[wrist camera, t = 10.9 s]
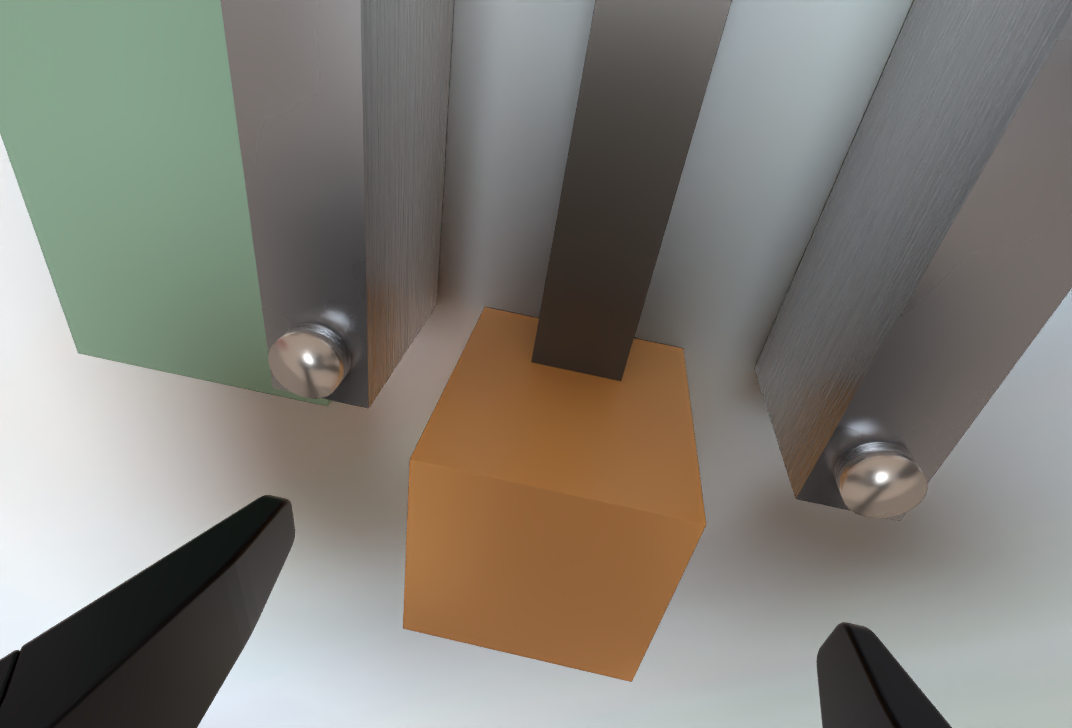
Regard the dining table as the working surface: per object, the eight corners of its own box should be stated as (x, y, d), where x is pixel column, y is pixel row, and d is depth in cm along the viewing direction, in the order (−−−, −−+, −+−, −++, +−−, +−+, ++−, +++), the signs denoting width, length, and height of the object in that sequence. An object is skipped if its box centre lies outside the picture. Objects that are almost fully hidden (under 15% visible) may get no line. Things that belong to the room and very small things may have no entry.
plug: (554, -292, 7) (453, -641, 3) (888, -236, 7) (1207, -531, 3) (467, 454, 14) (402, 628, 10) (633, 490, 13) (631, 682, 10)
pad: (278, -475, 6) (264, -494, 6) (333, 398, 13) (327, 406, 13) (-213, -545, 7) (-249, -567, 6) (88, 346, 14) (78, 353, 13)
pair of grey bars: (1121, -161, 7) (1572, -310, 4) (831, 384, 11) (911, 543, 8) (351, -284, 7) (115, -516, 4) (364, 289, 12) (258, 403, 8)
